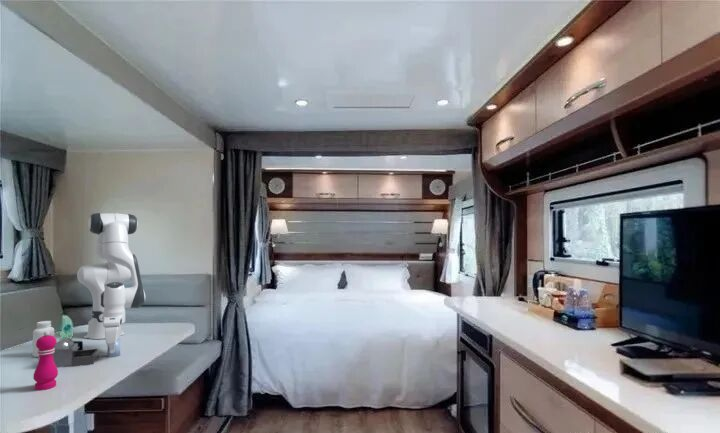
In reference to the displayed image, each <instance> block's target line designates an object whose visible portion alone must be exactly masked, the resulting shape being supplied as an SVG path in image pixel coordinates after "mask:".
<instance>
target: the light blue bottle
mask: <svg viewBox="0 0 720 433" xmlns="http://www.w3.org/2000/svg"><path fill="white" fill-rule="evenodd" d="M106 353H107V354H106V356H107V358H117V357H120V356H121V339H120V338H119V339H118V340H117V342H116V343H115V352H114V353H110V348H109V344H108V345H107V352H106Z"/></svg>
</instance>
